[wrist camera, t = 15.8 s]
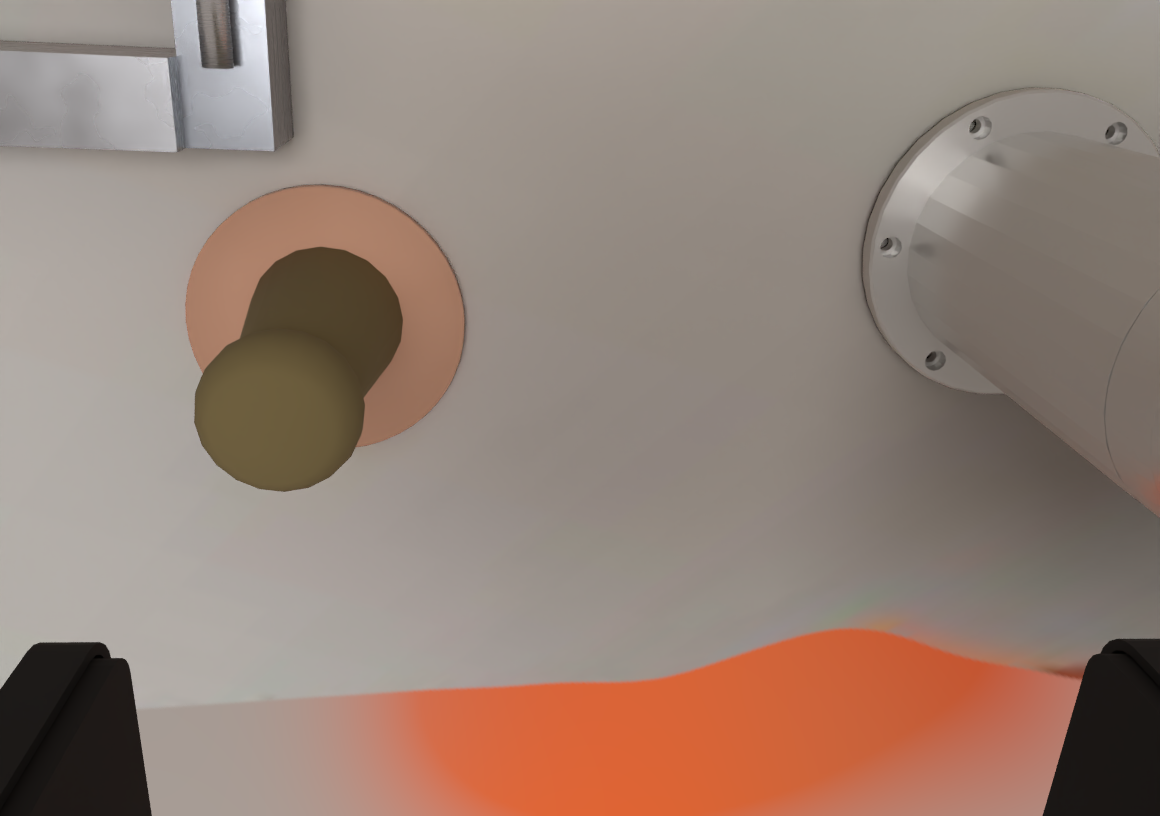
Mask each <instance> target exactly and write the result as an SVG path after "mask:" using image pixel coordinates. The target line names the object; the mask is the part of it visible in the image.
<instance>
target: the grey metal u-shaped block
mask: <svg viewBox="0 0 1160 816" xmlns="http://www.w3.org/2000/svg"><path fill="white" fill-rule="evenodd" d="M171 6H172V16H173V26H174V36H175V46H176V49H174V48H152V47H130V46H108V45H86V44H64V43H42V42H20V41H0V146H21V147H48V148H75V149H102V150H129V151H156V152H179V151H180V150H182V149H184V148H203V149H229V150H256V151H275V150H277V149H278V148H279V147H281V146H282V145H283V144H285V143H286V142H288V141H289V140H290V139H292V138H293V123H292V106H291V89H290V72H289V55H288V38H287V21H286V4H285V0H171Z"/></svg>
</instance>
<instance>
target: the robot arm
mask: <svg viewBox="0 0 1160 816" xmlns="http://www.w3.org/2000/svg"><path fill="white" fill-rule="evenodd" d="M973 120H975V121H976V127H975V129H974V130H972V131H970V130H969V127H970V125H971V123H972V121H973ZM1108 127H1109V131H1108V133H1107V135H1105V133H1106V131H1107V129H1108ZM886 238H888V240H889V242H888V245H887V246H886V247H885V248H880V246H881V244H882V242H883V241H884V240H885V239H886ZM863 282H864V287H865V293H866V298H867V303H868V306H869V308H870V311H871V313H872V316H873V318H874V320H875V323H876V325H877V328H878V329H879V331H880V332H881V333H882V335H883V336H884V338H885V339H886V341H887V342H888V343H889V345H890V346H891V348H892V349H893V350H894V351H895V352H896V353H898V354H899V355H900V356H901V358H902V359H903V360H904V361H905V362H906V363H907V364H909V365H910V366H911V367H913V368H914V369H915V370H917V371H918V372H919V373H920V374H922V375H923V376H925V377H926V378H928V379H930V380H933V381H935V382H937V383H940V384H942V385H944V386H946V387H949V388H951V389H955V390H960V391H965V392H970V393H974V394H1006V395H1007V396H1009V397H1010V398H1011V399H1012V400H1014V401H1015V402H1016V403H1017V404H1018V405H1020V406H1021V407H1022V408H1023V409H1025V410H1026V411H1027V412H1028V413H1030V414H1031V415H1032V416H1033V417H1034V418H1036V419H1037V420H1038V421H1039V422H1041V423H1042V424H1043V425H1044V426H1046V427H1047V428H1048V429H1049V430H1050V431H1052V432H1053V433H1054V434H1055V435H1057V436H1058V437H1059V438H1060V439H1062V440H1063V441H1064V442H1065V443H1067V444H1068V445H1069V446H1070V447H1071V448H1073V449H1074V450H1075V451H1076V452H1078V453H1079V454H1080V455H1081V456H1083V457H1084V458H1085V459H1086V460H1087V461H1089V462H1090V463H1091V464H1092V465H1094V466H1095V467H1096V468H1097V469H1099V470H1100V471H1101V472H1102V473H1103V474H1105V475H1106V476H1107V477H1108V478H1110V479H1111V480H1112V481H1113V482H1115V483H1116V484H1117V485H1118V486H1120V487H1121V488H1122V489H1123V490H1125V491H1126V492H1127V493H1128V494H1130V495H1131V496H1132V497H1134V498H1135V499H1136V500H1138V501H1139V502H1140V503H1142V504H1143V505H1144V506H1145V507H1146V508H1148V509H1149V510H1150V511H1151V512H1153V513H1154V514H1155V515H1157V516H1158V517H1159V518H1160V154H1159V152H1158V150H1157V148H1156V146H1155V144H1154V143H1153V141H1152V139H1151V138H1150V137H1149V136H1148V135H1147V134H1146V133H1145V131H1144V130H1143V129H1142V128H1141V127H1140V126H1139V125H1138V123H1137V122H1136V121H1135V120H1134V119H1132V118H1131V117H1130V116H1128V115H1127V114H1125V113H1124V112H1122V111H1121V110H1120V109H1118V108H1117V107H1115V106H1114V105H1113V104H1110V103H1108V102H1105V101H1103V100H1100V99H1098V98H1095V97H1093V96H1090V95H1088V94H1085V93H1080V92H1075V91H1070V90H1064V89H1055V88H1033V87H1031V88H1025V89H1018V90H1012V91H1006V92H1000V93H998V94H995V95H992V96H989V97H986V98H984V99H981V100H978V101H975V102H972V103H970V104H969V105H967V106H965V107H963V108H962V109H960V110H958V111H956V112H955V113H953V114H951V115H949V116H948V117H946V118H944V119H943V120H942V121H940V122H939V123H938V124H937V125H935V126H934V127H933V128H932V129H931V130H929V131H928V132H927V133H926V134H925V135H923V136H922V137H921V138H920V139H919V140H918V141H917V142H916V143H915V144H914V145H913V146H912V148H911V149H910V150H909V151H908V152H907V153H906V154H905V156H904V157H903V158H902V159H901V160H900V161H899V162H898V164H897V165H896V167H895V168H894V170H893V172H892V173H891V175H890V176H889V178H888V180H887V181H886V183H885V185H884V186H883V188H882V190H881V191H880V194H879V196H878V199H877V201H876V204H875V206H874V209H873V211H872V214H871V216H870V219H869V223H868V227H867V232H866V237H865V242H864V247H863ZM931 352H932V355H931V356H930V357H929V358H927V356H928V355H929V354H930V353H931ZM0 816H152V815H151V808H150V801H149V794H148V788H147V781H146V774H145V767H144V761H143V754H142V747H141V740H140V733H139V727H138V720H137V713H136V706H135V700H134V693H133V686H132V679H131V673H130V668H129V665H128V663H127V661H126V660H125V659H123V658H111V657H110V653H109V650H108V649H107V647H106V645H105V644H103V643H100V642H70V643H38V644H35V645H33V646H32V647H31V648H30V649H29V650H28V651H27V653H26V654H25V655H24V657H23V658H22V660H21V661H20V662H19V664H18V665H17V667H16V668H15V670H14V671H13V672H12V674H11V675H10V677H9V678H8V679H7V681H6V682H5V684H4V685H3V686H2V688H1V689H0ZM1043 816H1160V639H1115V640H1112V641H1109V642H1108V643H1107V644H1106V645H1105V646H1104V647H1103V650H1102V652H1101V654H1096V655H1093V656H1092V657H1091V658H1090V659H1089V661H1088V663H1087V666H1086V668H1085V672H1084V675H1083V679H1082V682H1081V686H1080V689H1079V693H1078V696H1077V700H1076V703H1075V706H1074V710H1073V713H1072V717H1071V720H1070V724H1069V727H1068V730H1067V734H1066V737H1065V741H1064V744H1063V748H1062V751H1061V755H1060V758H1059V762H1058V765H1057V768H1056V772H1055V776H1054V779H1053V782H1052V786H1051V789H1050V793H1049V796H1048V799H1047V803H1046V806H1045V810H1044V813H1043Z"/></svg>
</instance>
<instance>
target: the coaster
mask: <svg viewBox="0 0 1160 816" xmlns="http://www.w3.org/2000/svg"><path fill="white" fill-rule="evenodd" d="M315 247H327V248H334V249H341V250H346V251H348V252H350V253H352V254H354V255H357V256H359V257H361V258H363V259H365V260H367V261H368V262H370V263H371V264H372V265H373V266H374V267H375V268H376V269H377V270H379V271H380V272H381V273H382V274H383V275H384V276H385V277H386V278H387V280H388V281H389V283H390V285H391V286H392V288H393V290H394V291H395V293H396V295H397V296H398V299H399V304H400V308H401V313H402V317H403V325H402V335H401V342H400V344H399V346H398V348H397V351H396V353H395V355H394V357H393V359H392V361H391V362H390V364H389V365H388V366H387V368H386V369H385V370H384V372H383V373H382V374H381V376H380V377H379V378H378V380H377V381H376V382H375V384H374V385H373V386H372V387H371V389H370V390H369V391H368V393H367V394H366V395H365V397H364V398H363V399H364V402H365V412H364V423H363V430H362V434H361V437H360V439H359V441H358V443H357V445H356V447H361V446H367V445H370V444H374V443H377V442H380V441H384V440H386V439H388V438H390V437H393V436H395V435H397V434H399V433H401V432H403V431H404V430H406V429H408V428H409V427H411V426H413V425H414V424H415V423H416V422H418V421H419V420H420V419H421V418H423V417H424V416H425V415H426V414H427V413H428V412H429V411H430V410H431V409H432V408H433V407H434V406H435V405H436V404H437V403H438V401H439V400H440V398H441V397H442V396H443V394H444V393H445V392H446V390H447V388H448V386H449V385H450V383H451V381H452V379H453V377H454V375H455V372H456V369H457V367H458V364H459V361H460V357H461V352H462V347H463V341H464V327H465V319H464V306H463V301H462V296H461V291H460V288H459V285H458V282H457V279H456V276H455V273H454V272H453V270H452V268H451V266H450V264H449V262H448V260H447V258H446V256H445V255H444V253H443V252H442V250H441V249H440V247H439V246H438V244H437V243H436V242H435V241H434V239H433V238H432V237H431V236H430V235H429V234H428V233H427V231H426V230H425V229H424V228H423V227H421V226H420V225H419V224H418V223H417V222H416V221H415V220H414V219H412V218H411V217H410V216H409V215H407V214H406V213H404V212H403V211H401V210H400V209H398V208H397V207H395V206H394V205H392V204H390V203H388V202H386V201H384V200H382V199H380V198H378V197H376V196H373V195H370V194H367V193H365V192H362V191H359V190H354V189H350V188H346V187H341V186H331V185H302V186H296V187H289V188H284V189H281V190H278V191H274V192H271V193H268V194H266V195H263V196H261V197H259V198H257V199H255V200H253V201H251V202H249V203H248V204H246V205H245V206H243V207H242V208H240V209H238V210H237V211H236V212H234V213H233V214H232V215H231V216H230V217H229V218H228V219H226V220H225V221H224V222H223V223H222V224H221V225H220V226H219V227H218V228H217V229H216V230H215V231H214V233H213V234H212V235H211V236H210V237H209V239H208V240H207V241H206V243H205V245H204V246H203V248H202V250H201V251H200V253H199V254H198V257H197V259H196V261H195V264H194V266H193V268H192V271H191V275H190V279H189V283H188V286H187V295H186V304H185V306H186V324H187V330H188V336H189V340H190V343H191V347H192V350H193V353H194V356H195V358H196V360H197V362H198V364H199V366H200V369H201V371H202V373H203V372H204V370H205V369H206V367H207V366H208V365H209V364H210V363H211V361H212V360H213V359H214V358H215V357H216V356H217V355H218V354H219V353H220V352H221V351H222V350H223V349H224V348H225V346H226V345H228V344H230V343H232V342H234V341H236V340H238V339H240V336H241V332H242V329H243V326H244V322H245V319H246V315H247V312H248V309H249V305H250V302H251V299H252V296H253V294H254V291H255V289H256V287H257V284H258V282H259V279H260V278H261V277H262V276H263V274H264V273H265V272H266V271H267V270H268V269H269V268H270V267H271V266H272V265H273V264H274V263H275V261H277V260H279V259H281V258H283V257H285V256H287V255H289V254H291V253H292V252H294V251H296V250H302V249H308V248H315Z"/></svg>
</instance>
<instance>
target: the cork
mask: <svg viewBox="0 0 1160 816" xmlns="http://www.w3.org/2000/svg"><path fill="white" fill-rule="evenodd" d="M402 325H403V317H402V313H401V308H400V304H399V299H398V296H397V295H396V293H395V291H394V290H393V288H392V286H391V285H390V283H389V281H388V280H387V278H386V277H385V276H384V275H383V274H382V273H381V272H380V271H379V270H377V269H376V268H375V267H374V266H373V265H372V264H371V263H370V262H368V261H367V260H365V259H363V258H361V257H359V256H357V255H354V254H352V253H350V252H348V251H346V250H341V249H334V248H327V247H315V248H308V249H302V250H296V251H294V252H292V253H291V254H289V255H287V256H285V257H283V258H281V259H279V260H277V261H275V263H274V264H273V265H272V266H271V267H270V268H269V269H268V270H267V271H266V272H265V273H264V274H263V276H262V277H261V278H260V279H259V282H258V284H257V287H256V289H255V291H254V294H253V296H252V299H251V302H250V305H249V309H248V312H247V315H246V319H245V322H244V326H243V329H242V332H241V336H240V339H238V340H236V341H234V342H232V343H230V344H228V345H226V346H225V348H224V349H223V350H222V351H221V352H220V353H219V354H218V355H217V356H216V357H215V358H214V359H213V360H212V361H211V363H210V364H209V365H208V366H207V367H206V369H205V370H204V372H203V375H202V377H201V380H200V382H199V385H198V387H197V389H196V393H195V420H194V423H195V426H196V429H197V432H198V435H199V438H200V441H201V444H202V446H203V447H204V449H205V450H206V451H207V453H208V454H209V455H210V457H211V458H212V459H213V461H214V462H215V463H216V465H218V466H219V467H220V468H222V469H223V470H224V471H225V472H227V473H228V474H229V475H231V476H232V477H233V478H235V479H236V480H238V481H241V482H243V483H246V484H248V485H251V486H253V487H256V488H258V489H265V490H274V491H283V492H286V491H292V490H298V489H304V488H309V487H311V486H313V485H315V484H317V483H319V482H321V481H323V480H325V479H327V478H329V477H330V476H331V475H332V474H334V473H335V472H336V471H337V470H338V469H339V468H340V467H341V466H342V465H343V464H344V463H345V462H346V461H347V460H348V459H349V458H350V457H351V455H352V453H353V451H354V449H355V447H356V445H357V443H358V441H359V439H360V437H361V434H362V430H363V423H364V412H365V402H364V399H363V398H364V397H365V395H366V394H367V393H368V391H369V390H370V389H371V387H372V386H373V385H374V384H375V382H376V381H377V380H378V378H379V377H380V376H381V374H382V373H383V372H384V370H385V369H386V368H387V366H388V365H389V364H390V362H391V361H392V359H393V357H394V355H395V353H396V351H397V348H398V346H399V344H400V342H401V335H402Z"/></svg>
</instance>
